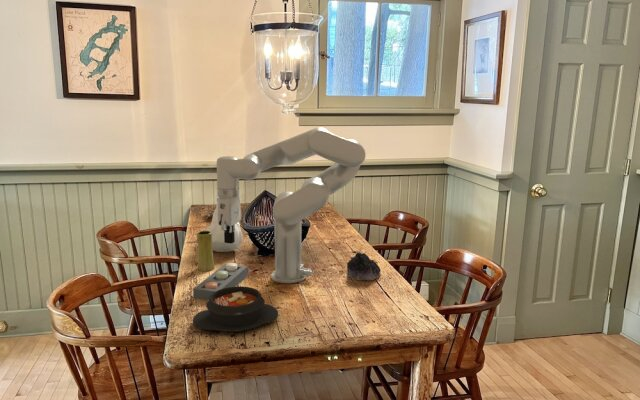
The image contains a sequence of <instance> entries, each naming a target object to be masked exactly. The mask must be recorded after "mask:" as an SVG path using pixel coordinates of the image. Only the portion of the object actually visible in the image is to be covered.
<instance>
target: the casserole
mask: <svg viewBox="0 0 640 400" xmlns="http://www.w3.org/2000/svg"><path fill="white" fill-rule="evenodd" d="M205 305H206V309H205V310H201V311H198V312H197V313H196V314H195V315H193V316H194V317H193V318H192V324H193V325H194V327H196V328H197V329H199V330H202V331H203V330H205V331H221V332H226V333H227V332H234V333H235V332H241V331H242V332H243V331H248V330H251V329H254V328H257V327H259V326H261V325H265V324H270V323H271V322H274V321H276V320H277V319H278V318H279V310H278V309H277V308H275V306H273V305H271V304H268V303H266V301H265V298H264V297H263V296H262V294H261V291H259V290H258V289H256V288H253V287H250V286H243V285H242V286H239V285H237V286H236V287H228V288H223V289H220V290H218V291H216V292H214V293H213V294H212V295H211V296H210V298H209V300H208V301H206V304H205Z"/></svg>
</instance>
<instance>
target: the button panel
mask: <svg viewBox="0 0 640 400" xmlns="http://www.w3.org/2000/svg"><path fill="white" fill-rule="evenodd" d="M226 264H227V263H224V264H223V265H222V266H220V267H219V268H217V269H216V270H215V271H214V272H213V273H211V274H210V275H209V276H208V277H207V278H205V279H204V280H202V281H201V282H200V283H199V284H198V285H196V286H195V287H194V288H193V289H192V292H193V299H194V300H198V301H199V300H201V301H206V302H208V300H209V298H210V296H211V295H212V294H213V293H214V292H216V291H218V290H220V289H223V288H228V287H236V286H239V284H241V282H242V281H244V280H245V279H246V278H247V277H248V276H249V269H248V268H249V266H248V265H241V264H240V265H239V264H237V271H236V272H231V271H227V272H228V279H226V280H219V279H216V272H218V271H226ZM208 282H216V283H217V284H218V287H217V288H216V289H208V288H205V284H206V283H208Z"/></svg>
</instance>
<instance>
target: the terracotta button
mask: <svg viewBox="0 0 640 400" xmlns="http://www.w3.org/2000/svg"><path fill="white" fill-rule="evenodd" d="M217 287H218V284H217V283H216V282H208V283H206V284H205V288H208V289H216V288H217Z"/></svg>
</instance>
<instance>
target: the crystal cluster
mask: <svg viewBox="0 0 640 400" xmlns="http://www.w3.org/2000/svg"><path fill="white" fill-rule="evenodd" d="M346 266H347V267H346V270H347V271H346V276H347V278H350V279H353V280H354V279H355V280H358V281H375V280H376V279H378V278H380V276H381V268H380V266H379V265H378V263H377V262H376V261H375V260H373V259H370V258H369V256H368V254H366V253H365V252H358V251H357V252H356V254H355V255H354V256H352V257H351V259H350V260H349V261H348V262H347V263H346Z"/></svg>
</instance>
